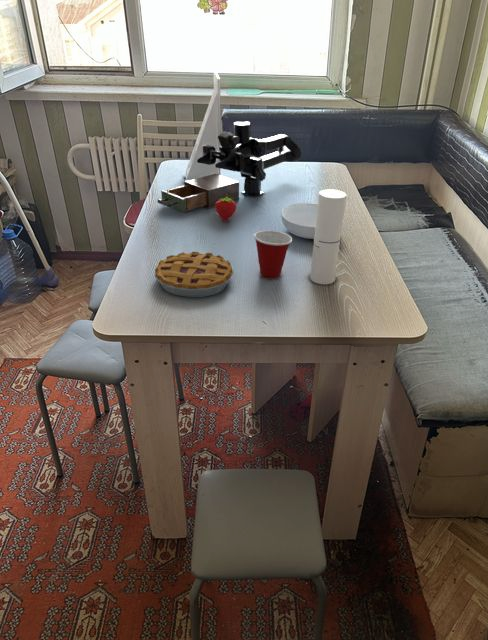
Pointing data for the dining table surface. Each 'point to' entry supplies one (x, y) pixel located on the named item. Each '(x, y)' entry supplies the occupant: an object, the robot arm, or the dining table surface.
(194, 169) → the white bracket plate
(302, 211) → the serving bowl
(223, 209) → the strawberry
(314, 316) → the dining table surface
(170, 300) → the dining table surface
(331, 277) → the cylindrical container
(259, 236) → the plastic cup
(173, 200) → the drawer
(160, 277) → the pie
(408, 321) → the dining table surface
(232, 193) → the cabinet
